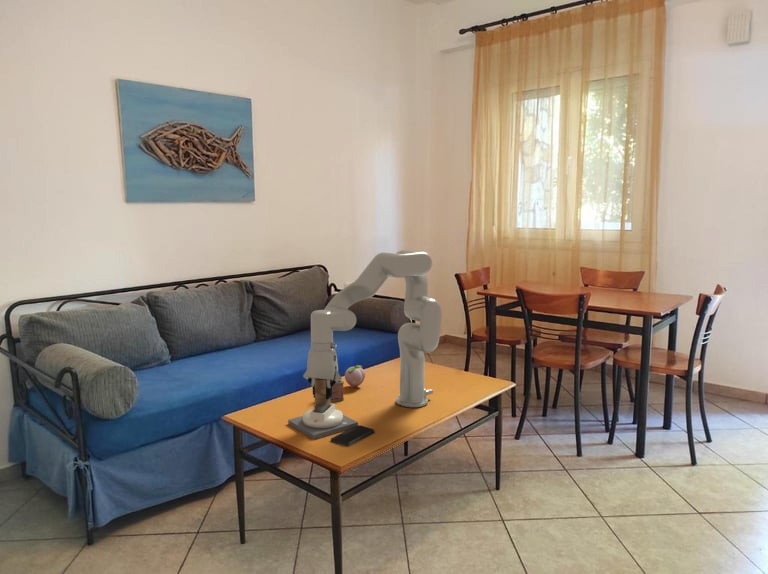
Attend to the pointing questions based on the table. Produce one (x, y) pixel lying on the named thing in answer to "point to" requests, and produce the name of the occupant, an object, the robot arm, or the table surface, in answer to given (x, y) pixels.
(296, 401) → the table surface
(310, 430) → the dial plate
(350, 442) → the phone
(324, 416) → the dial
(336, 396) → the lighter
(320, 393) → the tan block
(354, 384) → the decorative fruit
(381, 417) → the table surface
